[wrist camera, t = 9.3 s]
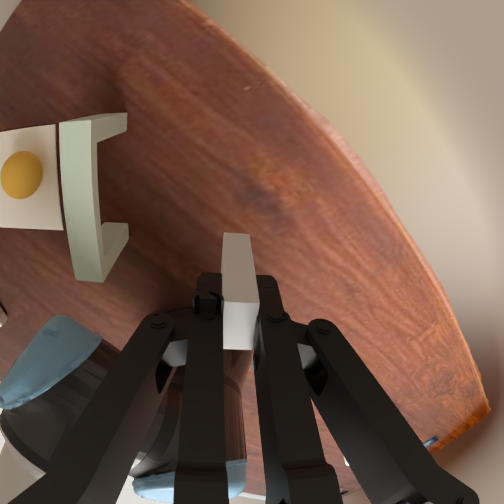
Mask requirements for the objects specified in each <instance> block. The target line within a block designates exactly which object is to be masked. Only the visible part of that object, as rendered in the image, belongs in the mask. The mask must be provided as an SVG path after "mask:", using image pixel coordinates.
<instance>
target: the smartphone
mask: <svg viewBox="0 0 504 504" xmlns="http://www.w3.org/2000/svg"><path fill="white" fill-rule="evenodd" d="M437 440H439V438H438V437H437V436H433V437H432V438H430V439H429V440H427V441H425V442H424V443H423V445H424V446H425V448H426V447H428V446H430V445H431V444H433V443H434V442H436V441H437Z"/></svg>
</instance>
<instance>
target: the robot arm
mask: <svg viewBox="0 0 504 504" xmlns="http://www.w3.org/2000/svg"><path fill="white" fill-rule="evenodd" d="M253 344H254V355H253V361H252V366H251V369H254V375H255V385H256V395H257V405H258V415H259V425H260V434H261V444H262V453H263V463H264V472H265V481H266V504H343V501H342V496H341V492H340V488H339V483H338V479H337V475H336V472H335V469H334V468H333V466H332V465H330V464H328V463H327V462H326V460H325V457H324V453H323V448H322V444H321V440H320V436H319V431H318V427H317V423H316V419H315V415H314V410H313V406H312V402H311V399H312V401H313V402H314V404H315V406H316V408H317V409H318V411H319V413H320V415H321V417H322V418H323V420H324V422H325V424H326V426H327V427H328V429H329V431H330V433H331V434H332V436H333V438H334V440H335V441H336V443H337V445H338V447H339V449H340V450H341V452H342V454H343V456H344V457H345V459H346V461H347V463H348V464H349V466H350V468H351V470H352V471H353V473H354V475H355V476H356V478H357V480H358V482H359V483H360V485H361V487H362V489H363V490H364V492H365V494H366V495H367V497H368V499H369V500H370V502H371V503H372V504H479V498H478V495H477V494H476V493H475V491H473V490H472V489H471V488H469V487H468V486H467V485H465V484H464V483H462V482H461V481H459V480H458V479H456V478H455V477H454V476H452V475H451V474H449V473H448V472H447V471H445V470H444V469H442V468H441V467H439V466H438V465H437V463H436V462H435V460H434V459H433V458H432V456H431V455H430V453H429V452H428V450H427V449H426V448H425V446H424V445H423V443H422V442H421V440H420V439H419V438H418V436H417V435H416V433H415V432H414V431H413V429H412V428H411V427H410V425H409V424H408V422H407V421H406V420H405V418H404V417H403V415H402V414H401V413H400V411H399V410H398V409H397V407H396V406H395V404H394V403H393V402H392V400H391V399H390V398H389V396H388V395H387V394H386V392H385V391H384V389H383V388H382V387H381V385H380V384H379V383H378V381H377V380H376V379H375V377H374V376H373V375H372V373H371V372H370V371H369V369H368V368H367V366H366V365H365V364H364V362H363V361H362V360H361V358H360V357H359V356H358V354H357V353H356V352H355V350H354V349H353V348H352V346H351V345H350V344H349V342H348V341H347V340H346V338H345V337H344V336H343V335H342V333H341V332H340V331H339V329H338V328H337V327H336V325H334V324H333V323H332V322H330V321H328V320H325V319H314V320H312V321H311V322H310V323H309V324H308V325H304V324H300V323H297V322H294V321H292V320H291V318H290V316H289V314H288V313H286V312H285V311H284V308H283V304H282V300H281V296H280V292H279V289H278V284H277V281H276V280H275V279H274V278H273V277H272V276H269V275H255V268H254V261H253V255H252V248H251V242H250V235H249V234H241V233H227V232H224V235H223V248H222V262H221V273H205V272H203V273H202V274H201V275H200V276H199V277H198V280H197V287H196V293H194V294H193V296H192V308H183V309H178V310H174V311H171V312H169V313H166V314H165V313H160V312H157V313H152V314H149V315H147V316H146V317H145V318H144V319H143V320H142V322H141V323H140V325H139V326H138V328H137V329H136V331H135V332H134V333H133V335H132V336H131V338H130V339H129V341H128V342H127V344H126V345H125V347H124V348H123V350H122V351H120V350H119V349H117V348H116V347H114V346H113V345H111V344H110V343H109V342H107V341H106V340H104V339H103V338H102V336H101V335H100V334H99V333H96V332H92V331H91V330H89V329H88V328H86V327H85V326H83V325H82V324H80V323H79V322H77V321H76V320H74V319H73V318H71V317H69V316H67V315H55V316H53V317H51V318H50V319H49V320H48V321H47V322H46V323H45V324H44V325H43V326H42V328H41V329H40V330H39V331H38V333H37V334H36V335H35V336H34V338H33V339H32V340H31V341H30V343H29V344H28V345H27V346H26V348H25V349H24V350H23V352H22V353H21V354H20V356H19V357H18V358H17V360H16V361H15V363H14V364H13V366H12V367H11V368H10V370H9V371H8V373H7V374H6V376H5V377H4V378H3V380H2V381H1V383H0V407H1V408H2V409H3V411H2V413H1V415H0V430H1V433H2V435H3V437H4V438H5V441H6V442H5V444H4V446H3V449H2V451H1V454H0V504H116V501H117V499H118V497H119V494H120V492H121V490H122V487H123V485H124V483H125V481H126V479H127V476H128V475H130V476H132V477H133V478H134V481H133V482H132V485H133V487H134V491H135V493H136V494H137V495H139V496H141V497H142V498H146V499H148V500H153V501H158V502H165V503H173V504H229V499H230V498H233V497H235V496H237V495H239V494H240V493H241V492H242V491H243V490H244V488H245V485H246V465H247V463H248V461H247V455H246V444H245V434H244V422H243V411H242V400H241V390H242V387H243V384H244V381H245V378H246V375H247V372H248V369H249V366H250V363H251V350H252V349H253ZM310 397H311V398H310Z"/></svg>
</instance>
